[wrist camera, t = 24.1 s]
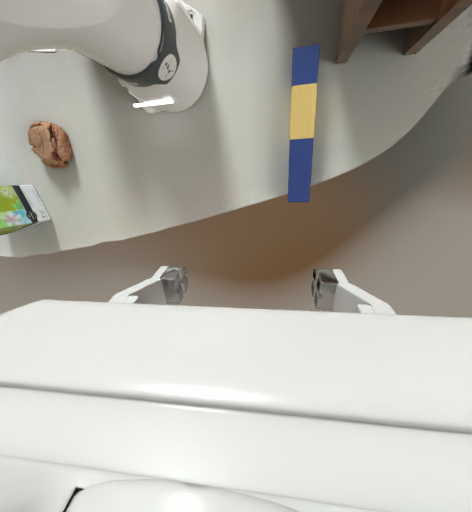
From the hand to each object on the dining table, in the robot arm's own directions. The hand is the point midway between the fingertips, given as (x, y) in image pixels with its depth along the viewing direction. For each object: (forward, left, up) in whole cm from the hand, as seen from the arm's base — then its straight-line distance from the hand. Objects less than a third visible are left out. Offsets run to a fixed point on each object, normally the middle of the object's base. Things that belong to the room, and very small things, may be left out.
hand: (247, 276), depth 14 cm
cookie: (-47, -27, -37) cm, 65 cm away
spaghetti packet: (-5, +12, -37) cm, 39 cm away
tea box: (-48, -49, -37) cm, 78 cm away
